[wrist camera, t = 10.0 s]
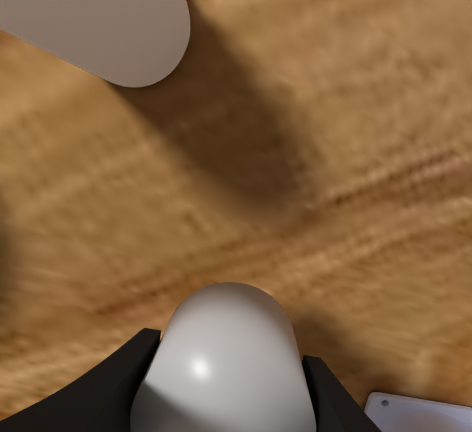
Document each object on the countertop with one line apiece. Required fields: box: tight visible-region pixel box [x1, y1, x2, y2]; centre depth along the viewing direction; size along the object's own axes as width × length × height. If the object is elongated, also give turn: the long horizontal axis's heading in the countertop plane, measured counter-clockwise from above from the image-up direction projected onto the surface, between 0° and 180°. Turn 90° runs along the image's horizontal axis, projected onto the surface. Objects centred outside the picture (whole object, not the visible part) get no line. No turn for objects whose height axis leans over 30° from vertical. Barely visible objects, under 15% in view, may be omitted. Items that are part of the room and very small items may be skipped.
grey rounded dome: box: [130, 282, 316, 432], centre depth 10 cm, size 5×5×4 cm
